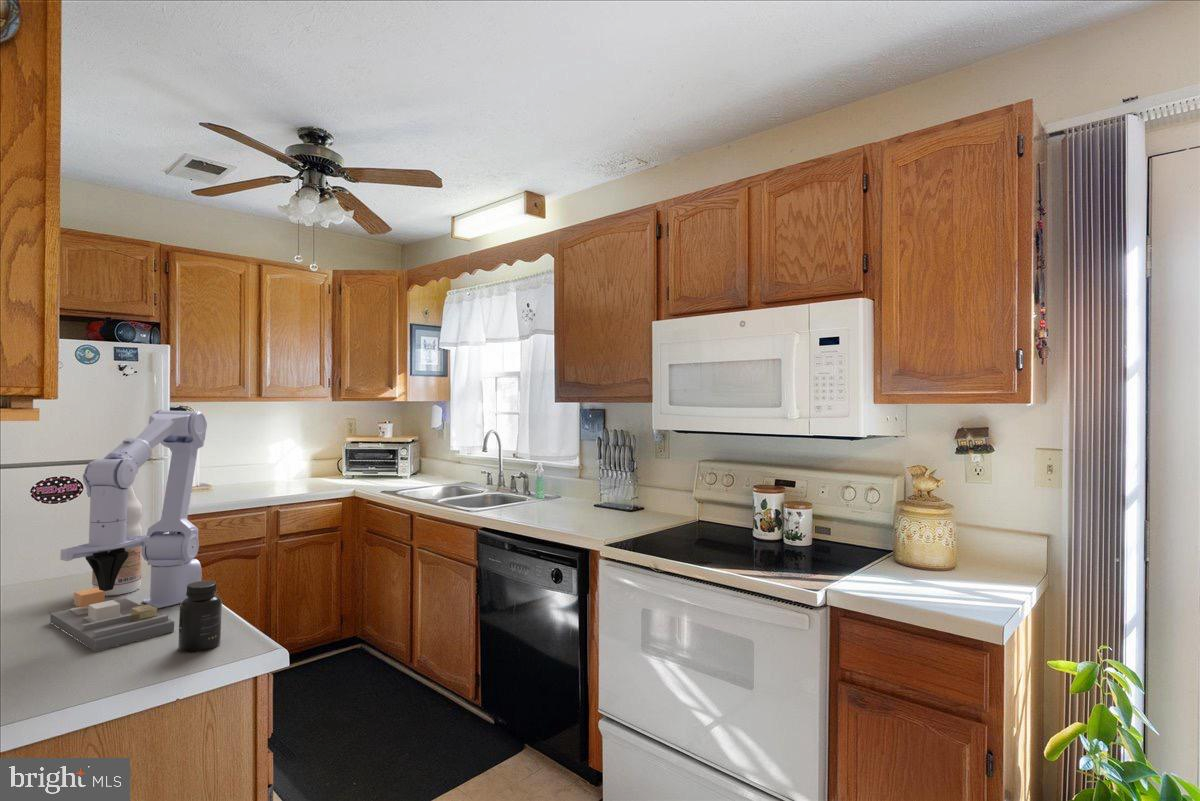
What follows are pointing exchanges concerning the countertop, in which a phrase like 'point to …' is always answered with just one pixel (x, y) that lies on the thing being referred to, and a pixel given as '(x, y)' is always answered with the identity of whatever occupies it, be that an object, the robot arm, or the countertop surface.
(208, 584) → the supplement bottle
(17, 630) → the countertop surface
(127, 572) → the fruit juice
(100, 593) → the orange button
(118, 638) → the grey ridged tray
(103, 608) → the off-white button
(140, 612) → the wood grain block
